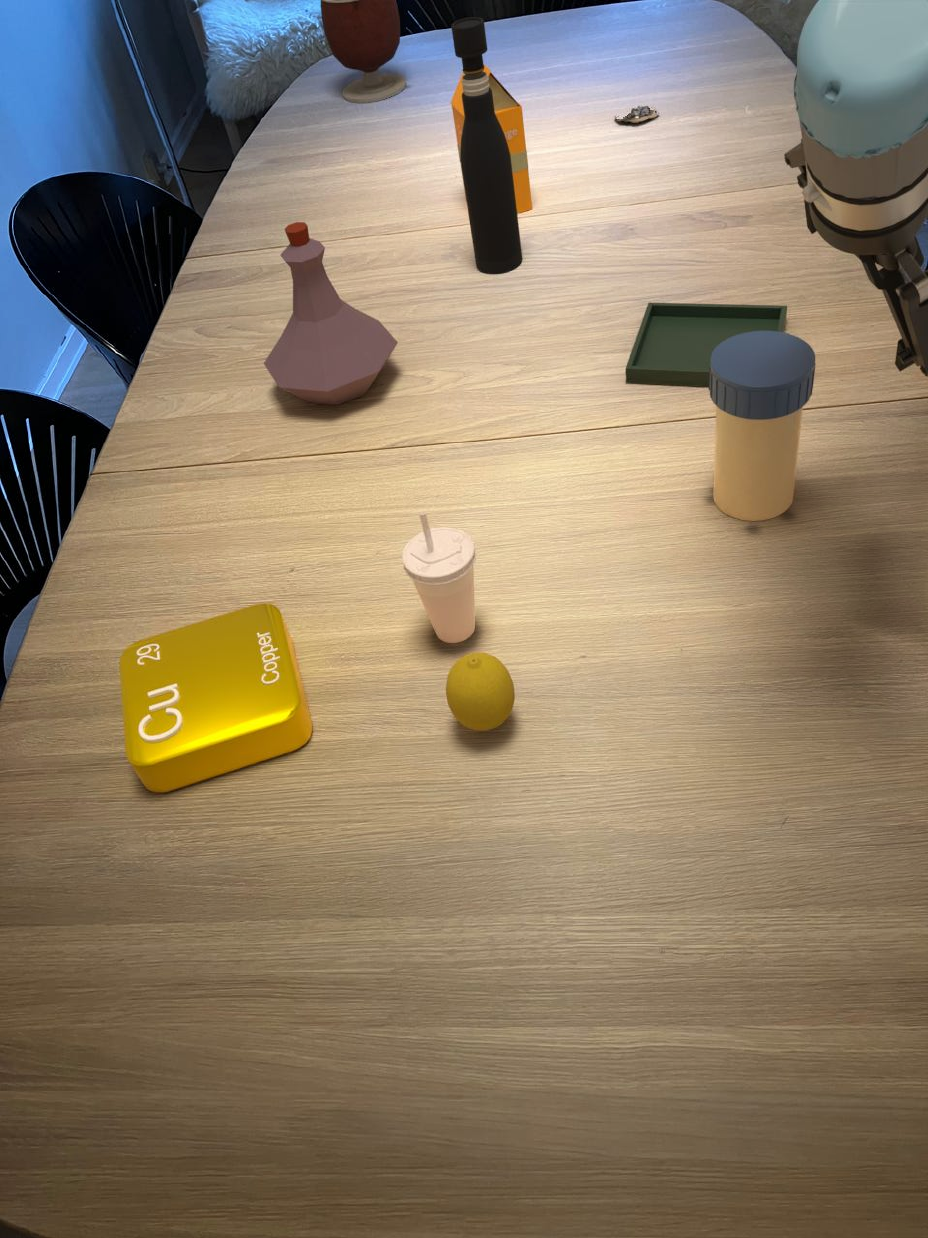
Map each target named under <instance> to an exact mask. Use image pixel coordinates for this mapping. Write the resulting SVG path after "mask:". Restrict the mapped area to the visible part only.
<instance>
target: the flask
mask: <svg viewBox="0 0 928 1238" xmlns="http://www.w3.org/2000/svg"><path fill="white" fill-rule="evenodd" d="M283 230H284V232H285V234H286V237H287V239H288V242H289V244H288V245H287V246H286V248H284V249H283V251H282V252H281V253H280V254H279V256H280V257H281V258H282V260H283V261H284V262H285V263H286V264H287V266H288V267H289V268H290V273H291V279H292V313H291V316H290V318H289V320H288V321H287V323H286V326H285V328H284V329H283V332H282V333H281V335H280V336H279V339H278V340H277V341H276V343H275V345H274V347H273V348H272V350H271V351H270V352H269V354H268V356H267V357H266V359H264V360H265V361H264V362H263V365H264V367H265V368H266V370H267V371H268V372H269V374H270V376H271V377H272V379H273V381H274V382H275V383H276V385H277V386H278V388H279V389H281V390H283V391H286V392H287V393H290V394H292V395H293V396H295V397H297V398H299V399H302V400H304V401H306V402H308V403H310V404H320V405H329V406H330V405H332V406H339V405H342V404H344V403H347V402H350V401H351V400H354V399H357V398H360V397H362V396H364V395H366V394H367V392H368V391H369V389H370V387H371V386H372V385H373V384H374V382H375V381H376V379H377V377H379V374H380V372H381V371H382V369H383V368H384V366H385V365H386V363H387V361H388V360H389V358H390V357H391V355H392V353H393V351H394V350H395V348H396V347H397V345H398V343H399V341H398V340H396V338H395V337H394V336H393V334H391V333H390V332H389V330H388V329H387V328H386V326H384V324H382V322H381V321H380V320H378V319H377V318H374V317H372V315H369V314H367V313H365V312H363V311H361V310H359V309H357V308H355V307H354V306H352V305H350V304H349V303H347V302H346V301H345V300H344V299H341V297H340V296H339V294H338V292H337V290H336V289H335V287H334V285H333V284H332V282H331V280H330V278H329V277H328V274H327V271H326V269H325V266H324V262H323V260H324V256H325V255H324V254H325V250H326V247H325V246H324V244H323V243H322V242H321V241H320V240H317V239H313V238H311V237H310V234H309V226H308V224H307V223H306V222H305V221H303V222H302V221H296V222H293V223H290V224H288V225H287V226H286V227H285V228H284V229H283Z"/></svg>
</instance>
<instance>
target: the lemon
mask: <svg viewBox="0 0 928 1238" xmlns="http://www.w3.org/2000/svg"><path fill="white" fill-rule="evenodd" d="M445 694H446V702H447V706H448V707H449V709H450V711H451V713H452V716H453V717H454V718H455V719H456V720H457V721H458V722H459V723H460V724H461V725H462V726H464V727H465V728H468V729H469V730H473V731H477V732H479V731H480V732H486V731H491V730H493V729H496V728H497V727H500V726H501V725H502V724H503V723H504V722H505V721H506V720H507V719H508V718H509V716H510V715H511V713H512V711H513V708H514V704H515V698H516V697H515V684H514V681H513V679H512V676H511V674H510V671H509V670H508V669H507V667H506V666H505V664H504V663H503V662H502V661H501V660H500V659H498V658H497V657H496V656H495V655H492V654H490V653H487V652H471V653H468V654H465V655H463V656H461V657H460V658H459V659H457V660H456V661H455V662H454V664H453V665H452V666H451V667H450V670H449V672H448V674H447V678H446V684H445Z"/></svg>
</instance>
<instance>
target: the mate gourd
mask: <svg viewBox="0 0 928 1238" xmlns="http://www.w3.org/2000/svg"><path fill="white" fill-rule="evenodd" d="M320 15H321V16H320V17H321V23H322V26H323V32H324V35H325V38H326V41H327V43H328V47H329V49H330V51H331V53H332V56H333V57H334V58H335V59H336V60H337V61H338V62H339V63H340V64H341V65H342V66H343V67H344V68H346V69H349V70H354V71H359V72H363V77H362V78H358V79H357V80H354V81H353V82H351V83H349V84H347V85H346V86H345V87H344V88H343V90H342V97H343V99H344V100H345V101H347V102H350V103H353V104H367V103H368V104H369V103H376V102H380V101H384V100H387V99H390V98H392V97H394V95H395V96H396V94H397V95H399V94H400V93H401V91H402V90H403V89H404V90H405V89H406V87H407V84H408V83H407V79H406V77H404V76H402V75H401V74H397V73H396V74H395V73H381V72H380V71H379V69H380V68H381V67H383V66H384V65H386V64H387V63H388V62H390V61H392V59H394V57H395V55H396V53H397V51H398V49H399V46H400V43H401V19H400V14H399V8H398V4H397V0H320ZM404 90H403V91H404ZM403 91H402V92H403ZM391 96H392V97H391ZM389 97H390V98H389ZM386 98H387V99H386Z"/></svg>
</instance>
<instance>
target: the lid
mask: <svg viewBox="0 0 928 1238" xmlns="http://www.w3.org/2000/svg"><path fill="white" fill-rule="evenodd" d="M815 371H816V354H815V351H814V349H813V347H812V346H811V345H810V344H809V343H808V342H806V341H805V340H804V339H802V338H800V337H798V336H796V335H793V334H791V333H787V332H784V333H783V332H777V331H753V332H747V333H742V334H739V335H736V336H733V337H730V338H728V339H726V340H725V341H723V342H722V343H720V344H719V345H718V346H717V347H716V348H715V349H714V351H713V352H712V355H711V360H710V366H709V387H708V391H709V397H710V399H711V401H712V403H713V404H714V405H715V407H716V406H717V407H718V408H719V409H721V410H722V411H724V412H726V413H728V414H730V415H733V416H736V417H740V418H745V419H753V420H766V419H775V418H779V417H783V416H786V415H789V414H792V413H794V412H796V411H797V410H799V409H800V408H802V407H803V408H804V407H805V406H806V404H807V403H808V402H809V401H810V399H811V396H812V395H813V389H814V381H815V373H816V372H815Z"/></svg>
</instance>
